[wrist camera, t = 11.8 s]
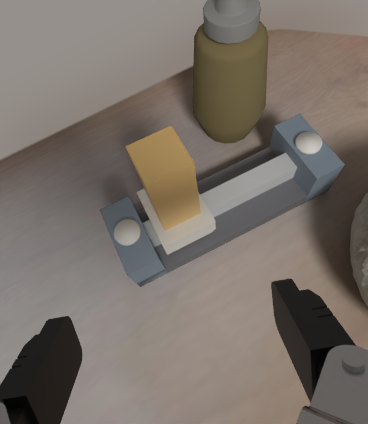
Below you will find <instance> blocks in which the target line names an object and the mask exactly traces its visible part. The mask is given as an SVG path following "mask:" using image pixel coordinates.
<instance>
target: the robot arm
mask: <svg viewBox="0 0 368 424" xmlns="http://www.w3.org/2000/svg"><path fill="white" fill-rule="evenodd" d="M271 288H272V298H273V308H274V317H275V322H276V325H277V329H278V331H279V334H280V336H281V338H282V340H283V342H284V345H285V347H286V349H287V351H288V354H289V356H290V358H291V360H292V363H293V365H294V367H295V369H296V371H297V374H298V376H299V378H300V380H301V383H302V385H303V387H304V389H305V392H306V394H307V396H308V398H309V400H310V406H309V407H307V406H304V407H303V408H302V410H301V412H300V415H299V417H298V420H297V423H296V424H368V351H367V350H366V349H363V348H361V347H358V346H356V345H355V343H354V342H353V341H352V339H351V338H350V337H349V335H348V334H347V333H346V331H345V330H344V329H343V327H342V326H341V324H340V323H339V322H338V320H337V319H336V318H335V316H333V314H332V312H331V311H330V309H329V308H327V305H326V304H325V303H324V301H323V300H322V299H321V297H320V296H318V295H317V294H315V293H314V292H312V291H310V290H309V289H307V290H301V291H299V289H298V288H297V286H296V284H295V283H294V281H293V280H292V279H285V280H279V281H274V282H272V283H271ZM81 362H82V348H81V345H80V342H79V339H78V337H77V334H76V331H75V328H74V326H73V323H72V320H71V318H70V317H69V316H65V317H60V318H54V319H49V320H47V321H46V323H45V325H44V327H43V328H42V330H41V332H40V334H38V335H35V336H34V337H33V338H32V339H31V340H30V341H29V342H28V343H27V344H26V345H24V347H23V349H22V350H21V352H20V354H19V355H18V359H16V360H15V362H14V364H13V365H12V369H10V370H9V372H8V374H7V375H6V377H5V379H4V380H3V382H2V384H1V385H0V424H60V423H61V420H62V417H63V414H64V411H65V408H66V406H67V403H68V400H69V397H70V394H71V391H72V388H73V385H74V383H75V380H76V377H77V374H78V371H79V368H80V365H81Z"/></svg>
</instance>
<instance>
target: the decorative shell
mask: <svg viewBox="0 0 368 424" xmlns="http://www.w3.org/2000/svg"><path fill="white" fill-rule="evenodd" d="M350 236H351V244H350V253H351V265H352V268H353V277H354V279H355V281H356V283H357V285H358V288H359V291H360V294H361V297H362V299H363V301H364V302H365V304H366V306H367V307H368V192H367V193H366V195H365V196H364V197H363V199H362V201H361V203H360V205H359V206H358V207H357V208H356V210H355V211H354V220H353V222H352V224H351V234H350Z"/></svg>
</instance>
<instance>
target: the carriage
mask: <svg viewBox="0 0 368 424" xmlns="http://www.w3.org/2000/svg"><path fill="white" fill-rule="evenodd" d="M125 147H126V149H127V152H128V154H129V156H130V158H131V161H132V163H133V165H134V167H135V169H136V172H137V174H138V176H139V178H140V180H141V183H142V185H143V187H144V189H142V190H140V191H138V192H136V193H137V195H138V197H139V199H140V201H141V203H142V205H143V207H144V209H145V211H146V213H147V215H148V217H149V219H150V221H151V223H152V225H153V227H154V229H155V231H156V233H157V235H158V237H159V239H160V242H161V244H162V246H163V248H164V250H165V251H166V253H167V255H168V254H170V253H172V252H174V251H176V250H178V249H180V248H182V247H184V246H186V245H188V244H190V243H192V242H194V241H196V240H198V239H200V238H202V237H204V236H206V235H208V234H210V233H212V232H213V230H215V229H216V225H215V219H214V218H213V216H212V214H211V213H210V211H209V209H208V208H207V206H206V204H205V203H204V201H203V199H202V197H201V196H200V194H199V192H198V187H197V180H196V172H195V165H194V161H193V160H192V158H191V156H190V155H189V153H188V152H187V150H186V148H185V147H184V145H183V143H182V142H181V140H180V139H179V137H178V135H177V134H176V132H175V131H174V129H173V127H172V126H169V127H166V128H164V129H162V130H160V131H158V132H156V133H153V134H151V135H149V136H147V137H145V138H143V139H140V140H138V141H136V142H134V143H132V144H130V145H127V146H125Z"/></svg>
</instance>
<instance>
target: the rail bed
mask: <svg viewBox="0 0 368 424" xmlns="http://www.w3.org/2000/svg"><path fill="white" fill-rule="evenodd" d="M344 165H345V164H344V163H343V162H342V161H341V160H340V159H339V157H338V156H337V155H336V154H335V153H334V152H333V151H332V150H331V148H330V147H329V146H328V145H327V144H326V143H325V142H324V140H323V139H322V138H321V137H320V136H319V135H318V134H317V133H316V131H315V130H314V129H313V128H312V127H311V126H310V125H309V124H308V122H307V121H306V120H305V119H304V118H303V117H302V116H301V114H298V115H296V116H294V117H292V118H290V119H288V120H286V121H284V122H281V123H279V124H277V125H275V126H274V129H273V133H272V137H271V142H270V146H269V147H268V148H266V149H264V150H262V151H260V152H258V153H256V154H254V155H252V156H250V157H248V158H245V159H243V160H241V161H239V162H237V163H235V164H233V165H231V166H229V167H227V168H225V169H223V170H221V171H219V172H217V173H215V174H213V175H211V176H208V177H206V178H204V179H202V180H200V181H198V182H197V187H198V192H199V194H200V196H201V197H202V199H203V201H204V203H205V204H206V206H207V208H208V209H209V211H210V213H211V214H212V216H213V218H214V219H215V225H216V229H215V230H213V232H212V233H210V234H208V235H206V236H204V237H202V238H200V239H198V240H196V241H194V242H192V243H190V244H188V245H186V246H184V247H182V248H180V249H178V250H176V251H174V252H172V253H170V254H168V255H167V253H166V251H165V250H164V248H163V246H162V244H161V242H160V239H159V237H158V235H157V233H156V231H155V229H154V227H153V225H152V223H151V221H150V219H149V217H148V215H147V213H146V211H145V209H144V208H143V209H141V210H139V211H137V209H136V208H135V206H134V204H133V202H132V201H131V199H130V197H129V196H127V197H125V198H123V199H121V200H119V201H117V202H115V203H113V204H111V205H109V206H106V207H104V208H102V209H100V211H101V214H102V216H103V219H104V221H105V223H106V226H107V228H108V230H109V233H110V235H111V238H112V240H113V242H114V245H115V247H116V250H117V252H118V254H119V257H120V259H121V262H122V264H123V266H124V269H125V271H126V274H127V275H128V276H129V277H130V278H131V279H132V280H133V281H134V282H136V283H137V284H138V285H139V286H140V287H141V286H143V285H145V284H147V283H149V282H151V281H153V280H155V279H157V278H159V277H161V276H162V275H164V274H166V273H168V272H170V271H172V270H174V269H176V268H178V267H180V266H182V265H184V264H186V263H188V262H190V261H192V260H194V259H196V258H198V257H199V256H201V255H203V254H205V253H207V252H209V251H211V250H213V249H215V248H217V247H219V246H221V245H223V244H225V243H227V242H229V241H231V240H233V239H234V238H236V237H238V236H240V235H242V234H244V233H246V232H248V231H250V230H252V229H254V228H256V227H258V226H260V225H262V224H264V223H266V222H268V221H270V220H271V219H273V218H275V217H277V216H279V215H281V214H283V213H285V212H287V211H289V210H291V209H293V208H295V207H297V206H299V205H301V204H303V203H305V202H307V201H308V200H310V199H312V198H314V197H316V196H318V195H320V194H322V193H324V192H326V191H328V190H329V188H330V187H331V185H332V184H333V182H334V181H335V179H336V178H337V176H338V174H339V173H340V171H341V170H342V168H343V167H344Z"/></svg>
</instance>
